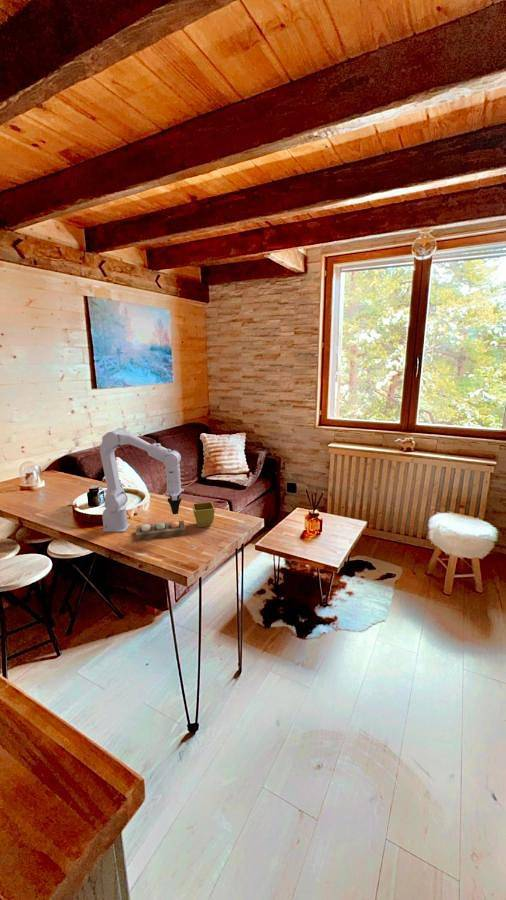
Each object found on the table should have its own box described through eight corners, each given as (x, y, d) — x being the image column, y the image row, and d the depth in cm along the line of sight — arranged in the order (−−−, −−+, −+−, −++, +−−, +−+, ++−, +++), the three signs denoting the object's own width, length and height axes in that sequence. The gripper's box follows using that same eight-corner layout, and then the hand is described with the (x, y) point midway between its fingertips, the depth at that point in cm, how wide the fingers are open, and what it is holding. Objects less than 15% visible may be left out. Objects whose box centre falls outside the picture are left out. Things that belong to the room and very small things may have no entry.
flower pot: (195, 530, 164) (194, 510, 162) (193, 522, 172) (192, 503, 170) (215, 527, 166) (214, 508, 164) (212, 519, 174) (211, 501, 172)
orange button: (171, 530, 160) (170, 524, 160) (170, 526, 164) (170, 521, 163) (179, 529, 161) (179, 524, 160) (178, 525, 164) (178, 520, 164)
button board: (136, 540, 154) (135, 535, 154) (136, 531, 163) (136, 525, 162) (185, 534, 159) (185, 529, 159) (183, 525, 168) (183, 520, 167)
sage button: (156, 532, 159) (156, 526, 158) (156, 528, 162) (155, 523, 161) (165, 531, 160) (164, 525, 159) (164, 527, 163) (164, 522, 162)
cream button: (141, 533, 157) (141, 528, 157) (141, 530, 161) (141, 524, 160) (150, 532, 158) (150, 527, 157) (150, 529, 161) (150, 523, 161)
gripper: (183, 484, 152) (185, 516, 155) (182, 474, 165) (184, 503, 169) (165, 486, 150) (167, 517, 153) (166, 475, 164) (168, 504, 167)
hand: (175, 510), depth 161 cm, fingers open, 7 cm apart
